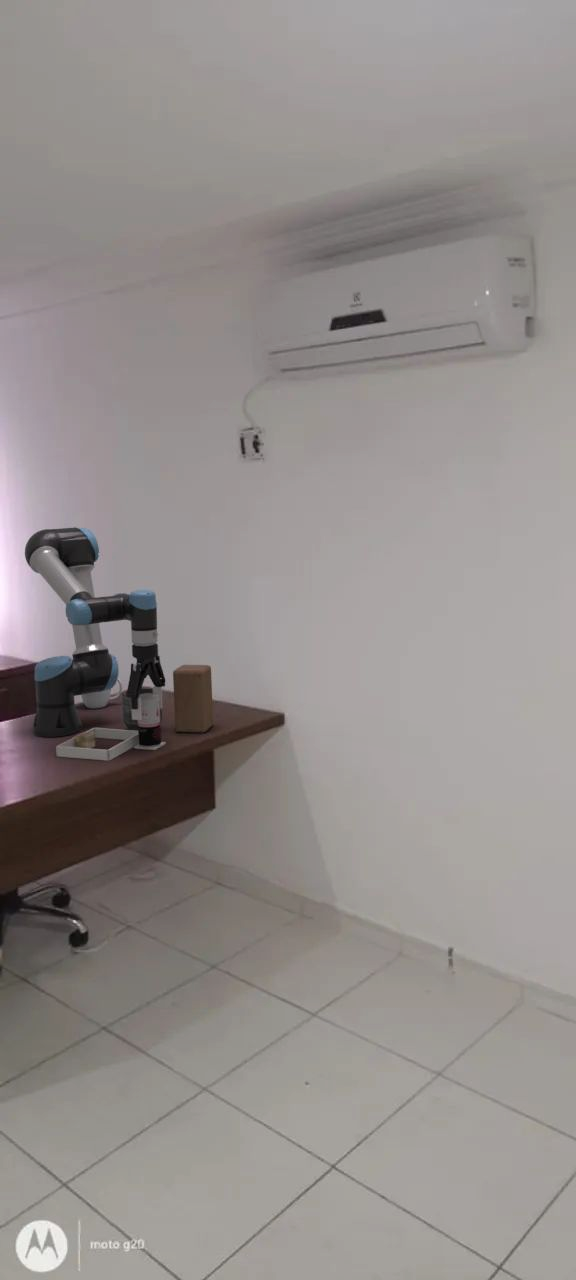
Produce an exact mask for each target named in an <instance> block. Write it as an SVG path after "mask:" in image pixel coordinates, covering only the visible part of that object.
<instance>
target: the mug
mask: <svg viewBox="0 0 576 1280" xmlns="http://www.w3.org/2000/svg"><path fill="white" fill-rule="evenodd" d="M116 682H117V683H118V684H119V690H118V693H117V694H116V695H114V696H111V691H112V690H111V689H112V688H111V689H109V690H105V691H102V692H95V693H89V694H83V695H80V696H81V700H82V702H83V703H84V705H85V706H86V708H88V709H101V708H105V707H107V705H108V703H109V701H113V700H114V699H115V700H116V699H117V698H119V697H120V696H121V695H122V692H123V683H122V681H121V679H120V678H119V677H118V679H117V681H116Z"/></svg>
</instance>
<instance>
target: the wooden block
mask: <svg viewBox="0 0 576 1280" xmlns="http://www.w3.org/2000/svg"><path fill="white" fill-rule="evenodd" d="M172 679H173V681H172V682H173V702H174V704H173V705H174V724H175V725H174V726H175V727H174V728H175V730H176V732H178V733H196V734H197V733H200V734H201V733H202V734H203V733H206V732H207V731H209V729H210V728H211V727H213V724H214V712H213V685H212V684H213V683H212V668H211V666H210V665H209V664H182V665H180V666H178V667H177V668H176V669H174V670H173V671H172Z"/></svg>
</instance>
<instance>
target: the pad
mask: <svg viewBox="0 0 576 1280" xmlns="http://www.w3.org/2000/svg"><path fill="white" fill-rule="evenodd" d="M166 744H167V742H165V741H161V743H160V744H159V745H158V746H155V747H142V746H141V745H139V744H137V745H136V746H134V747H133V748H134V749H138V750H139V749H140V750H150V751H152V750H153V751H156V750H158V749H159V748H161V747H162V746H164V745H166Z"/></svg>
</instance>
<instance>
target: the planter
mask: <svg viewBox="0 0 576 1280" xmlns="http://www.w3.org/2000/svg"><path fill="white" fill-rule="evenodd" d="M145 693H153V687H142V689H141V692H140V694H145ZM121 695H122V696H121V698H122V717H123V718H122V721H123V723H124V725H125V726H126V728H127V730H134V731H138V720H133V719H132V708H131V698H128V697H127V696H126V695H127V689H126V690H124V691H123V690H122V692H121ZM162 709H163V708H162ZM162 709H161V708H160V724H162V720H163V710H162Z"/></svg>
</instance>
